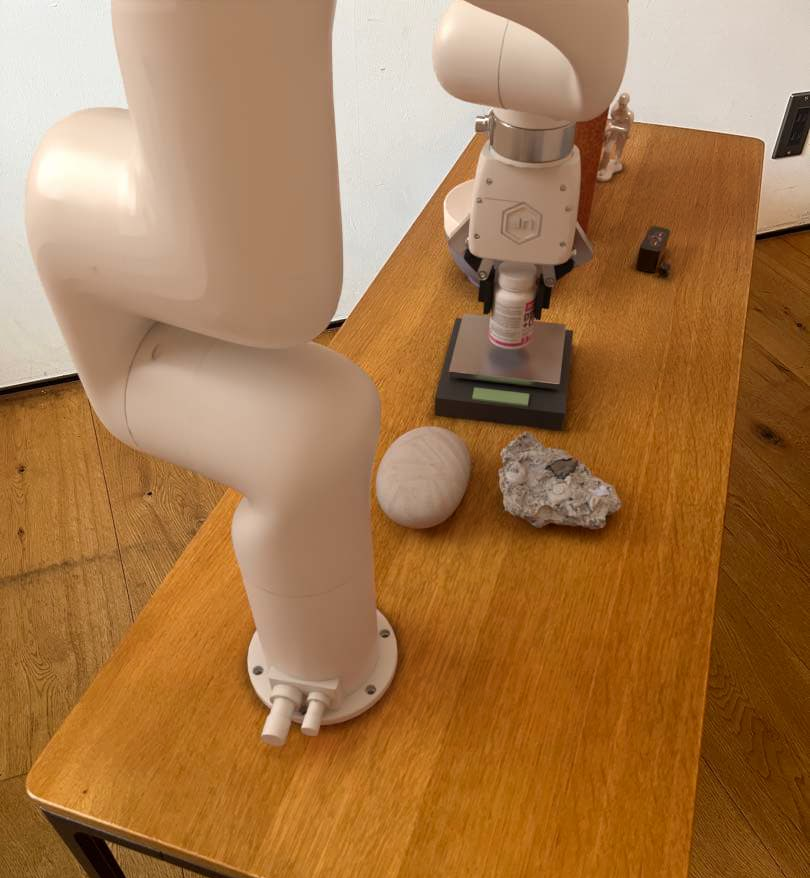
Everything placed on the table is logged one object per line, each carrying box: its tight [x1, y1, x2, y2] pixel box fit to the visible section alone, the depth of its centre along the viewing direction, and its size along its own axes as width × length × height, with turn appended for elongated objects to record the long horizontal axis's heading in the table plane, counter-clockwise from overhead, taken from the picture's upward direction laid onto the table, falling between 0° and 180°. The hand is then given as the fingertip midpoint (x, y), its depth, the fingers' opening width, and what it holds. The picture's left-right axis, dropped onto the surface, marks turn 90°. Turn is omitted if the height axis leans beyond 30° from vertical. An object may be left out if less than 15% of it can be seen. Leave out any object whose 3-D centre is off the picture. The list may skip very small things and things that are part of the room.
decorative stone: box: [375, 425, 472, 530], centre depth 77 cm, size 13×9×5 cm
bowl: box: [443, 178, 563, 288], centre depth 101 cm, size 16×16×10 cm
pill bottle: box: [489, 261, 538, 349], centre depth 84 cm, size 5×5×8 cm
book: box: [572, 0, 630, 249], centre depth 104 cm, size 23×8×30 cm, turn 178°
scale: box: [434, 317, 574, 432], centre depth 89 cm, size 15×14×3 cm
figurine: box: [596, 92, 635, 182], centre depth 118 cm, size 5×9×12 cm, turn 157°
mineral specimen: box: [497, 431, 623, 530], centre depth 76 cm, size 6×11×12 cm
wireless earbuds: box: [635, 225, 672, 278], centre depth 105 cm, size 5×7×3 cm, turn 155°
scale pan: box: [449, 313, 567, 389], centre depth 88 cm, size 11×12×1 cm
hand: (513, 308), depth 84 cm, fingers closed on pill bottle, 4 cm apart
